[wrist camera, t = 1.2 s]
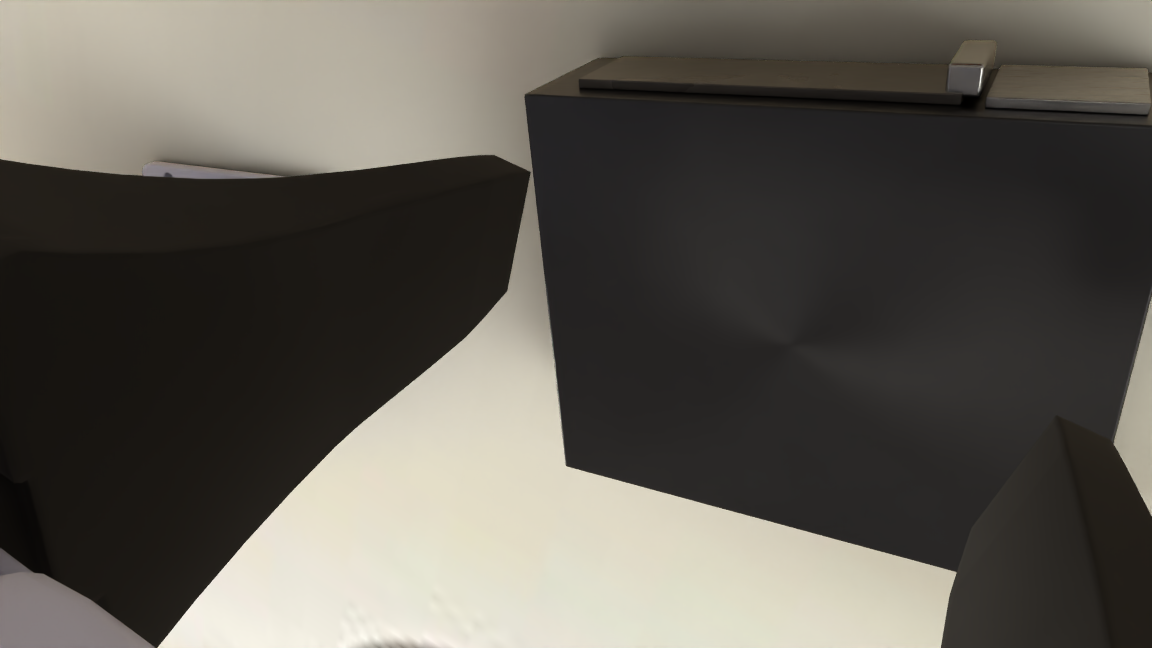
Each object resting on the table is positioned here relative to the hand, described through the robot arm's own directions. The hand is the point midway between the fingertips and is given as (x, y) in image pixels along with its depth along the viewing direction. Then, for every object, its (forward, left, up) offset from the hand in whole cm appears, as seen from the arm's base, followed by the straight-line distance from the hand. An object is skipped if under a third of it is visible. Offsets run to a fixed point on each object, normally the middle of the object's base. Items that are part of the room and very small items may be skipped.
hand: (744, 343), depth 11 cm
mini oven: (-1, -4, -10) cm, 11 cm away
